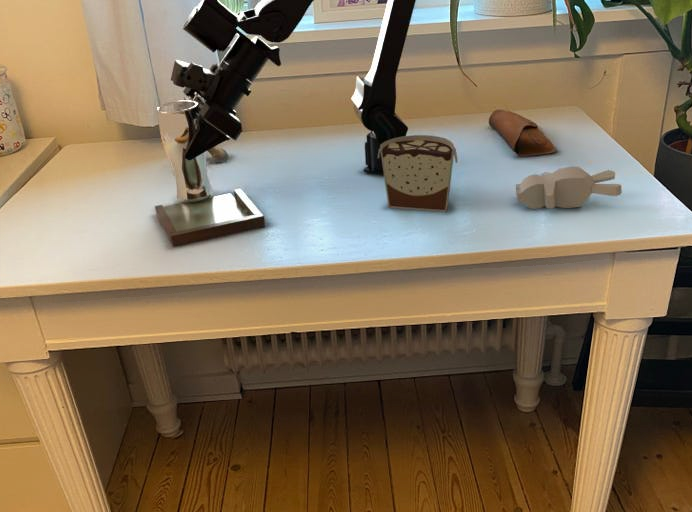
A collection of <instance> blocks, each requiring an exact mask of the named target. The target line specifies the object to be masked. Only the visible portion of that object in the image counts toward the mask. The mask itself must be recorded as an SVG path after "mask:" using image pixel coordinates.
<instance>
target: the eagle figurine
mask: <svg viewBox="0 0 692 512" xmlns="http://www.w3.org/2000/svg"><path fill="white" fill-rule="evenodd" d="M206 152H208V153H209V154H210V155H211V157H212V159H213V161H214V162H216V163H225V162H227V161H228V159H229V154H228V152H227V151H226V150H225V149H224V148H223V147H221V146H220V145H219V144H218V145H217V146H215V147H213V148H211V149H209V150H207V151H206Z"/></svg>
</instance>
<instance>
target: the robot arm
mask: <svg viewBox="0 0 692 512" xmlns="http://www.w3.org/2000/svg"><path fill="white" fill-rule="evenodd" d="M416 1H417V0H387V1H386V7H385V11H384V15H383V18H382V22H381V25H380V30H379V35H378V38H377V43H376V48H375V51H374V56H373V59H372V64H371V65H370V66H371V67H370V69H369V71H368V73H367V74H366V76H365V77H361V76H356V80H355V90H354V93H353V95H352V96H351V98H350V100H351V101H352V102H353V110H354V113H355V115H356V116H357V118H358V119H359V121H360V122H361V125H362V126H363V127H365V129H367V130H368V131H370V132H368V133H367V134H366V135H365V136H366V141H365V142H364V160H365V165H366V167H364V168H363V172H364V173H368V174H369V173H370V174H376V175H384V172H383V165H382V158H381V157H379V158H378V151H379V149H380V145H381V144H382V143H384V142H386V141H388V140H391V139H394V138H398V137H403V136H407V134H408V130H409V127H408V125H406V123H405V122H404V121H403V120H402V118H401V117H400V116H399V115H398V114H397V113H396V105H397V74H398V71H399V66H400V63H401V60H402V59H401V58H402V54H403V50H404V47H405V43H406V39H407V36H408V31H409V28H410V24H411V21H412V17H413V13H414V9H415V5H416ZM313 2H315V0H260V1H258V2H257V4H256V5H255V7H254V8H250V9H247V10H244V11H240V12H236V13H234V12H233V11H231V10H230V9H229V8H228V7H226V5H225V4H223V3H222V2H221V1H220V0H200V2H199V3H198V5H197V6H195V7H194V8H193V10H192V11H191V13H190V14H189V16H188V17H187V19H186V20H185V22H184V25H183V28H182V30H183V31H185V33H187V34H188V35H190V36H191V37H192V38H193V39H195V40H196V41H198V42H199V43H200V44H201V45H202V46H204V47H205V48H206V49H208V50H209V51H210V52H212V53H216V52H217V51H218V52H222V53H223V52H225V51H226V50H227V48H228V47H229V46H230V45H231V44H232V42H233V40H234V38H235V37H236V34H237V35H238V36H237V37H236V39H235V40H234V42H233V44H232V45H231V46H230V47H229V50H227V52H226V54H225V55H224V56H223V58H222V60H221V61H220V63H219V64H218V63H213V64H212V65H211V67H210V68H209V69H208V68H204V67H203V66H202V65H201V64H196V63H194V62H190V63H189V62H186V61H183V60H179V59H175V60H174V63H173V67H172V70H171V71H172V72H171V76H170V81H171V82H172V83H173V85H175V86H176V87H180V88H182V89H183V88H184V89H183V91H182V93H183V94H184V95H185V96H184V97H183V101H184V100H188V101H195V102H197V103H198V108H199V111H200V115H201V116H200V115H199V114H198V113H196V118H197V124H198V127H197V129H196V131H195V134H194V136H193V138H192V140H191V142H190V144H189V146H188V148H187V151H186V153H185V155H184V157H185V158H186V159H187V160H189V161H190V160H192V159H194V158H195V157H197V156H199V155H201V154H202V153H204V152H206V153H207V152H208V151H207V150H209V149H211V148H213V147H215V146H217V145H218V146H219V145H220V144H223V143H224V142H227V141H228V142H229V141H230V140H231V139H232V140H234V141H237V140H238V138H239V137H240V135H241V134H242V132H243V127H242V122H241V121H240V119H239V118H238V117H237V116H236V114H237V111H236V110H235V109H236V108H237V106H238V105H239V103H240V102H241V101H242V99H243V97H244V96H246V97H249V96H250V94H251V93H252V90H251V89H250V88H251V86H252V84H253V83H254V82H255V80H256V78H257V77H258V76H259V74H260V73H261V72H262V70H263V68H264V67H265V65H266V64H267V62H268V61H270V62H271V63H273V64H274V65H276V66H277V67H281V66H282V61H281V56H280V50H281V49H280V47H278V46H277V45H276V46H272V47H271V46H270V45H268V44H267V43H266V42H265V41H267V42H270V43H275V44H276V43H277V44H279V43H283V42H285V41H286V40H288V39H289V37H290V36H291V35H292V34H293V32H294V31H295V30H296V28H297V27H298V25H299V24H300V22H301V21H302V20H303V18H304V16H305V15H306V13H307V11H308V9H309V8H310V6H311V5H312V3H313ZM238 28H239V29H241V30H239V29H238ZM241 31H243V32H241ZM244 33H245V34H246V35H251V36H254V37H253V38H251V39H250V38H249V37H247V36H246V35H245V34H244ZM259 36H261V37H262V38H263V39H264V40H265V41H264V40H262V39H261V38H260V37H259Z"/></svg>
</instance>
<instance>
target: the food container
mask: <svg viewBox="0 0 692 512" xmlns="http://www.w3.org/2000/svg"><path fill="white" fill-rule="evenodd" d="M457 154H458V153H457V148H456V147H455V144H454V142H452V141H451V139H447V138H445V137H441V136H436V135H428V134H414V135H406V136H403V137H398V138H394V139H391V140H388V141H386V142H384V143H382V144H381V145H380V149H379V151H378V158H379V157H381V158H382V165H383V172H384V174H383V178H384V185H385V192H386V199H387V206H388V208H389V209H400V210H401V209H402V210H415V211H428V212H440V213H441V212H442V213H447V212H448V207H449V198H450V192H451V191H450V190H451V181H452V173H453V164H454V161H455V164H457V163H458V155H457Z"/></svg>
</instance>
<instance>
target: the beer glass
mask: <svg viewBox="0 0 692 512" xmlns="http://www.w3.org/2000/svg"><path fill="white" fill-rule="evenodd" d="M188 100H189V99H188ZM188 100H184V99H183V100H174V101H169V102H166V103H163V104H161V105H158V107H156V114H157V121H158V128H159V133H160V137H161V142H162V145H163V148H164V151H165V153H166V157H167V159H168V161H169V163H170V166H171V168H172V171H173V174H174V178H175V183H176V197H177V200H178V201H179V202H182V203H185V202H198V201H202V200H205V199H207V198H210V197H213V194H214V190H213V187H212V185H211V182H210V179H209V176H208V171H207V151H206V152H204V153H202V154H201V155H199V156H197V157H195V158H194V159H192V160H190V161H189V160H187V159H186V158H185V157H184V155H185V153H186V151H187V148H188V146H189V144H190V142H191V140H192V138H193V136H194V134H195V131H196V129H197V127H198V124H197V118H196V113H198V114H199V115H200V111H199V108H198V103H197V102H195V101H188ZM200 116H201V115H200Z"/></svg>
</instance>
